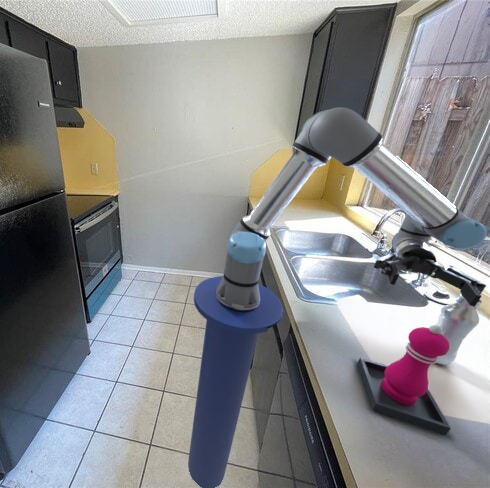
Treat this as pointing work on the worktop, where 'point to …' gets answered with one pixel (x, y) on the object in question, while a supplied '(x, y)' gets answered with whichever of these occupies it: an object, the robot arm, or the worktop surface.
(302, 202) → the worktop surface
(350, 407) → the worktop surface
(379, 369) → the tray
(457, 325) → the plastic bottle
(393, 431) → the worktop surface
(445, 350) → the pepper mill
